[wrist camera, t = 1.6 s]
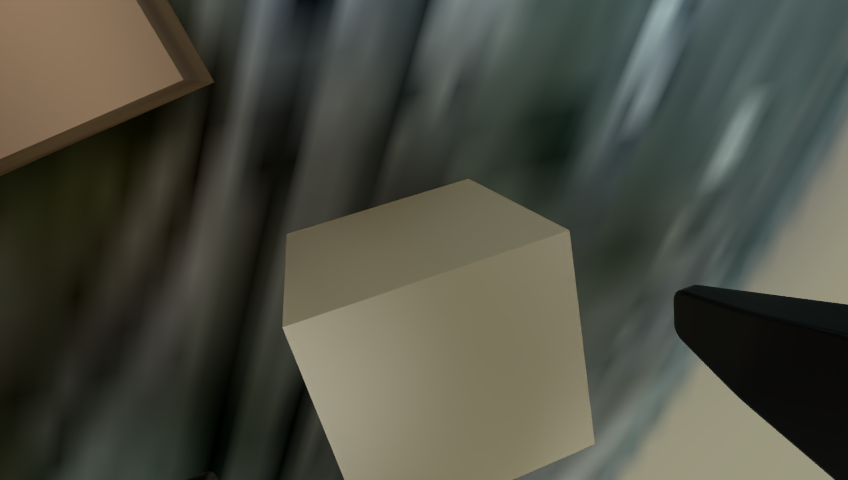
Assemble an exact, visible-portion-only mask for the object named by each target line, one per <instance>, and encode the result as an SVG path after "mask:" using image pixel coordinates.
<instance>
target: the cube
mask: <svg viewBox="0 0 848 480" xmlns="http://www.w3.org/2000/svg"><path fill="white" fill-rule="evenodd" d="M282 328H283V330H284V333H285V335H286V338H287V340H288V342H289V345H290V347H291V350H292V352H293V355H294V357H295V360H296V362H297V365H298V367H299V369H300V372H301V374H302V377H303V379H304V382H305V384H306V387H307V389H308V392H309V394H310V396H311V399H312V401H313V404H314V406H315V409H316V411H317V414H318V416H319V419H320V421H321V423H322V426H323V428H324V431H325V433H326V436H327V438H328V441H329V443H330V446H331V448H332V450H333V453H334V455H335V458H336V460H337V463H338V465H339V468H340V470H341V472H342V475H343V477H344V480H514V479H516V478H518V477H521V476H523V475H525V474H527V473H530V472H532V471H534V470H537V469H539V468H541V467H544V466H546V465H548V464H551V463H553V462H555V461H557V460H560V459H562V458H564V457H567V456H569V455H571V454H574V453H576V452H578V451H581V450H583V449H585V448H587V447H590V446H592V445H594V444H595V441H594V433H593V424H592V416H591V407H590V399H589V390H588V382H587V374H586V365H585V357H584V348H583V340H582V331H581V323H580V314H579V306H578V298H577V289H576V281H575V272H574V264H573V255H572V247H571V238H570V230H568V229H566V228H564V227H562V226H560V225H558V224H556V223H554V222H552V221H550V220H548V219H546V218H545V217H543V216H541V215H539V214H537V213H535V212H533V211H531V210H529V209H527V208H525V207H523V206H521V205H519V204H517V203H515V202H513V201H511V200H509V199H507V198H505V197H503V196H502V195H500V194H498V193H496V192H494V191H492V190H490V189H488V188H486V187H484V186H482V185H480V184H478V183H476V182H474V181H472V180H470V179H466V180H462V181H459V182H456V183H452V184H449V185H446V186H443V187H439V188H436V189H433V190H429V191H426V192H423V193H420V194H416V195H413V196H410V197H406V198H403V199H400V200H397V201H393V202H390V203H387V204H383V205H380V206H377V207H374V208H370V209H367V210H364V211H360V212H357V213H354V214H351V215H347V216H344V217H341V218H337V219H334V220H331V221H328V222H324V223H321V224H318V225H314V226H311V227H308V228H305V229H301V230H298V231H295V232H291V233H288V234H287V237H286V259H285V281H284V303H283V325H282Z"/></svg>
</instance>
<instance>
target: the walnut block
mask: <svg viewBox="0 0 848 480" xmlns="http://www.w3.org/2000/svg"><path fill="white" fill-rule="evenodd" d="M212 83H214V80H213V79H212V77H211V75H210V73H209V72H208V70H207V68H206V66H205V65H204V63H203V61H202V59H201V58H200V56H199V54H198V52H197V51H196V49H195V47H194V45H193V44H192V42H191V40H190V38H189V37H188V35H187V33H186V31H185V30H184V28H183V26H182V24H181V23H180V21H179V19H178V17H177V16H176V14H175V12H174V10H173V9H172V7H171V5H170V3H169V1H168V0H0V176H1V175H4V174H6V173H8V172H10V171H13V170H15V169H17V168H20V167H22V166H24V165H26V164H29V163H31V162H33V161H36V160H38V159H40V158H42V157H45V156H47V155H49V154H52V153H54V152H56V151H58V150H61V149H63V148H65V147H68V146H70V145H72V144H75V143H77V142H79V141H81V140H84V139H86V138H88V137H91V136H93V135H95V134H97V133H100V132H102V131H104V130H107V129H109V128H111V127H113V126H116V125H118V124H120V123H123V122H125V121H127V120H129V119H132V118H134V117H136V116H139V115H141V114H143V113H145V112H148V111H150V110H152V109H155V108H157V107H159V106H161V105H164V104H166V103H168V102H171V101H173V100H175V99H178V98H180V97H182V96H184V95H187V94H189V93H191V92H194V91H196V90H198V89H200V88H203V87H205V86H207V85H210V84H212Z"/></svg>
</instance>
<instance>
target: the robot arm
mask: <svg viewBox="0 0 848 480" xmlns="http://www.w3.org/2000/svg"><path fill="white" fill-rule="evenodd" d="M674 326H675V330H676V332H677V334H678V336H679V337H680V339H681V340H682V341H683V342H684V343H685V344H686V345H687V346H688V347H689V348H690V349H691V350H692V351H693V352H694V353H695V354H696V355H697V356H698V357H699V358H700V359H701V360H702V361H703V362H704V363H705V364H706V365H707V366H708V367H709V368H710V369H711V370H712V371H713V372H714V373H715V374H716V375H717V376H718V377H719V378H720V379H721V380H722V381H723V382H724V383H725V384H726V385H727V386H728V387H729V388H730V389H731V390H732V391H733V392H734V393H735V394H736V395H737V396H738V397H739V398H740V399H741V400H742V401H743V402H744V403H746V404H747V405H748V406H749V407H750V408H752V410H754V411H755V412H756V413H757V414H758V415H759V416H761V417H762V418H763V419H764V420H765V421H766V422H768V423H769V424H770V425H771V426H773V427H774V428H775V429H776V430H777V431H778V432H779V433H781V434H782V435H783V436H784V437H785V438H786V439H788V440H789V441H790V442H791V443H792V444H793V445H795V446H796V447H797V448H798V449H799V450H801V451H802V452H803V453H804V454H805V455H806V456H808V457H809V458H810V459H811V460H812V461H813V462H815V463H816V464H817V465H818V466H819V467H820V468H822V469H823V470H824V471H825V472H826V473H827V474H829V475H830V476H831V477H832V478H833V479H835V480H848V305H846V304H838V303H831V302H823V301H815V300H808V299H801V298H793V297H785V296H777V295H769V294H762V293H755V292H747V291H740V290H732V289H725V288H717V287H709V286H702V285H692V286H689V287H687V288H684V289H681V290H679V291H677V292H676V293H675V296H674ZM187 480H218V478H217V476H216V475H215V474H214V473H213V472H210V471H207V472H204V473H202V474H199V475H197V476H194V477H191V478H189V479H187Z"/></svg>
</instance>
